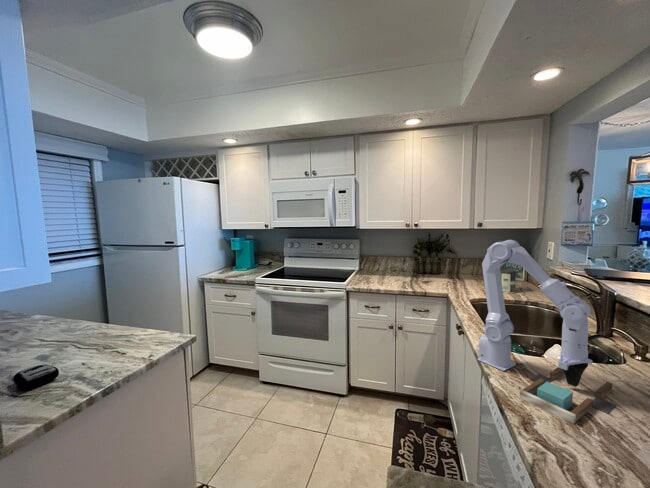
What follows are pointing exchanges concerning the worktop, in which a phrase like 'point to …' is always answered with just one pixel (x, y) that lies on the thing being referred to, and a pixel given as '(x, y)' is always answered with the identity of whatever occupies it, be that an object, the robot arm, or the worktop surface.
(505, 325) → the robot arm
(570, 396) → the teal block
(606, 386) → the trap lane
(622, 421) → the worktop surface
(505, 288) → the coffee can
